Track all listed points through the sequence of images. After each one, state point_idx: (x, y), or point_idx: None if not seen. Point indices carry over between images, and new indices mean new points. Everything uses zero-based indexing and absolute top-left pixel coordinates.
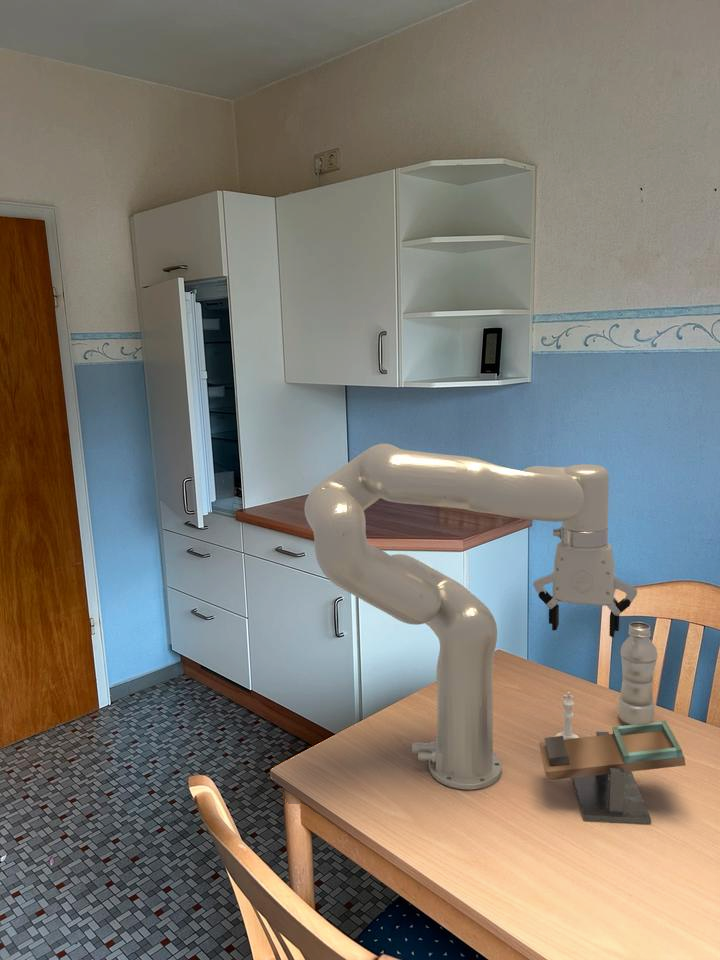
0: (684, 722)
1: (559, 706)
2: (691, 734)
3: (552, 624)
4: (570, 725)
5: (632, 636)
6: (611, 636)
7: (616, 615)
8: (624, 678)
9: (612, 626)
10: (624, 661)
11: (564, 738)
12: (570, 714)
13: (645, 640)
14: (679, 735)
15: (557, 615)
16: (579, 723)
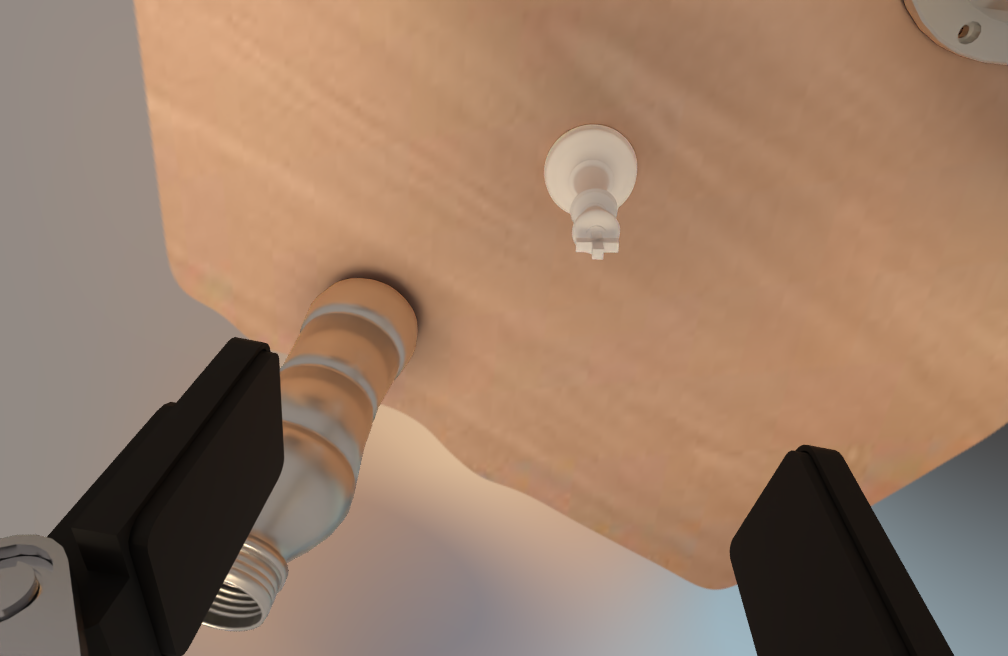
0: (243, 325)
1: (588, 371)
2: (220, 267)
3: (862, 495)
4: (584, 187)
5: (268, 544)
6: (256, 343)
7: (41, 537)
8: (365, 396)
9: (186, 413)
10: (343, 442)
11: (604, 162)
12: (586, 205)
13: None
14: (251, 258)
15: (804, 614)
16: (538, 288)
